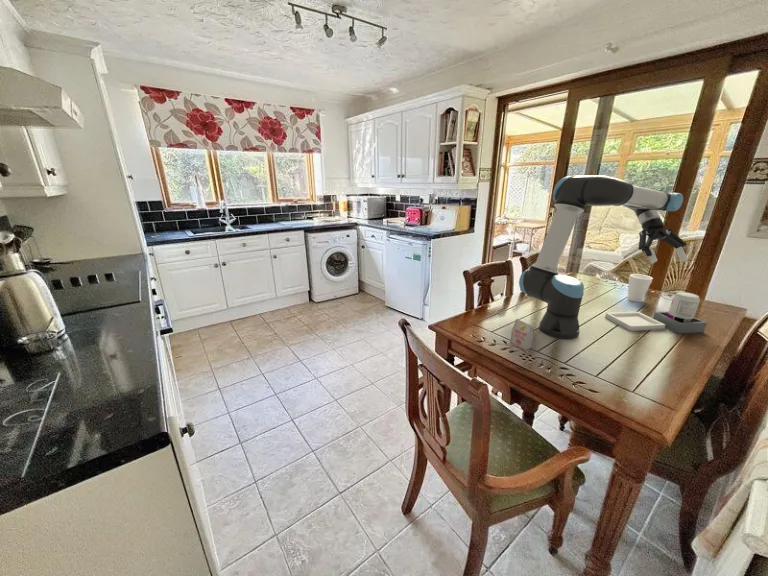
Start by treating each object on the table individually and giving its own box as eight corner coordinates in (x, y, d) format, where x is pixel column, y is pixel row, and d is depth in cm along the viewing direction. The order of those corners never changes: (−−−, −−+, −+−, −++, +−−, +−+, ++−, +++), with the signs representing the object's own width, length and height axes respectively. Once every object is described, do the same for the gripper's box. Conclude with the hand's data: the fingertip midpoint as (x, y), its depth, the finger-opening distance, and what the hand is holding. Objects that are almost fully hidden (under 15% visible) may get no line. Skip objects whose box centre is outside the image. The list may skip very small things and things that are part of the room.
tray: (629, 331, 133) (630, 326, 132) (604, 317, 146) (606, 312, 146) (664, 329, 134) (665, 324, 134) (636, 315, 148) (638, 311, 147)
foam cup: (638, 296, 171) (644, 274, 166) (650, 303, 162) (657, 279, 158) (619, 296, 171) (625, 273, 167) (630, 302, 163) (637, 279, 158)
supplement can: (660, 323, 139) (670, 292, 134) (672, 321, 142) (683, 290, 137) (681, 332, 132) (692, 299, 127) (694, 329, 134) (706, 296, 129)
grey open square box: (677, 333, 131) (680, 323, 129) (651, 321, 142) (654, 312, 141) (703, 332, 132) (707, 322, 130) (676, 320, 143) (679, 311, 142)
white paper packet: (516, 340, 126) (519, 318, 123) (531, 347, 121) (535, 324, 117) (510, 342, 125) (513, 320, 121) (524, 350, 119) (528, 326, 116)
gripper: (670, 225, 151) (689, 264, 142) (619, 227, 151) (635, 266, 142) (683, 215, 144) (705, 256, 136) (630, 218, 144) (648, 258, 135)
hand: (669, 261), depth 139 cm, fingers open, 13 cm apart
